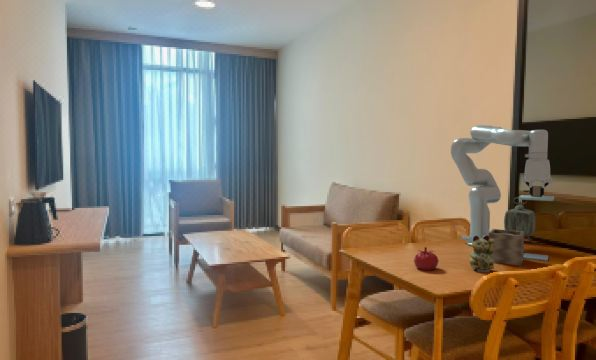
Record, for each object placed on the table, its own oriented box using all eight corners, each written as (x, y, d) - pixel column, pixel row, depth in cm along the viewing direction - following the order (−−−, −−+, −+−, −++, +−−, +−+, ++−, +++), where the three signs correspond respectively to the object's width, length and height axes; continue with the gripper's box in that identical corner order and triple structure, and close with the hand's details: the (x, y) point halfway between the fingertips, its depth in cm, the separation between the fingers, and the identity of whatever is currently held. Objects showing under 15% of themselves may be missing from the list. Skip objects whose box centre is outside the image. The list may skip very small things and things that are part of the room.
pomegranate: (443, 269, 173) (444, 248, 173) (427, 273, 168) (428, 250, 167) (424, 264, 182) (425, 243, 181) (408, 267, 176) (409, 245, 176)
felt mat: (522, 258, 192) (522, 257, 192) (524, 254, 200) (524, 252, 200) (547, 261, 186) (547, 259, 186) (548, 256, 195) (548, 255, 195)
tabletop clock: (535, 241, 229) (536, 197, 228) (531, 244, 223) (532, 198, 221) (507, 238, 239) (508, 195, 238) (502, 241, 232) (503, 196, 231)
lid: (518, 199, 190) (518, 186, 189) (521, 197, 201) (521, 184, 201) (553, 201, 182) (553, 187, 182) (554, 198, 194) (554, 185, 193)
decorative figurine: (473, 272, 168) (474, 236, 167) (465, 267, 176) (465, 232, 176) (497, 272, 168) (498, 236, 167) (487, 267, 176) (488, 232, 176)
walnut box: (488, 261, 186) (488, 233, 185) (492, 255, 197) (493, 228, 196) (520, 265, 179) (521, 235, 178) (523, 259, 190) (524, 231, 189)
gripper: (517, 156, 192) (516, 196, 193) (558, 156, 183) (557, 197, 184) (518, 156, 198) (517, 194, 199) (558, 156, 189) (557, 196, 190)
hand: (536, 195), depth 192 cm, fingers closed on lid, 3 cm apart
